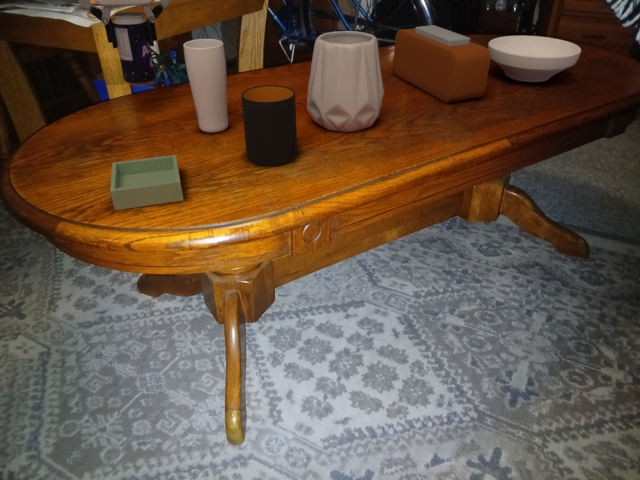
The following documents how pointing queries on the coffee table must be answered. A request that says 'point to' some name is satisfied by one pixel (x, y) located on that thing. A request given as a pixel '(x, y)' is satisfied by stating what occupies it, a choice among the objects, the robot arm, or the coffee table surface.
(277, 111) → the mug
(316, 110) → the vase
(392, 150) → the coffee table surface
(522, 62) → the bowl
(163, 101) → the coffee table surface
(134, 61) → the beverage can
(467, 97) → the brown rounded block
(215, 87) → the drinking glass
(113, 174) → the tray
